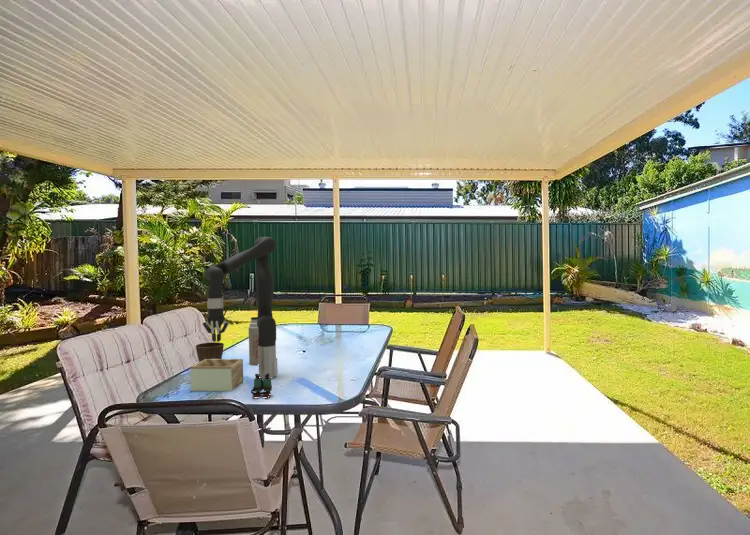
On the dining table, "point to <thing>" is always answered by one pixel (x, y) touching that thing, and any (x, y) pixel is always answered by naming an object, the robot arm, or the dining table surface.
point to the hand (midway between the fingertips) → (216, 341)
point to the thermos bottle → (253, 342)
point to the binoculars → (262, 386)
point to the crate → (234, 363)
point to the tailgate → (211, 378)
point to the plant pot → (209, 351)
